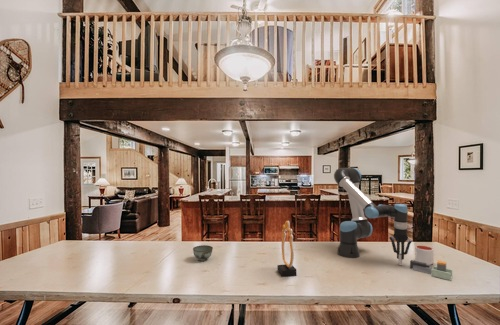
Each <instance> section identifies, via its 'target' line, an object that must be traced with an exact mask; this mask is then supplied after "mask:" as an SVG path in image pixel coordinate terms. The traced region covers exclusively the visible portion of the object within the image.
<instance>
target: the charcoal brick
mask: <svg viewBox="0 0 500 325" xmlns="http://www.w3.org/2000/svg"><path fill="white" fill-rule="evenodd" d="M413 265H417V266H422V267H426V263H423V262H418V261H416V260H413V259H411V260H410V261H409V266H410V268H409V269H412V270H413Z"/></svg>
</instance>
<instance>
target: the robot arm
mask: <svg viewBox="0 0 500 325" xmlns="http://www.w3.org/2000/svg"><path fill="white" fill-rule="evenodd" d="M333 178H334V181H335V183H336V184H337V185H338V186H339V187H341V188H343V190H345V191H346V193H347V197H348V200H349V204H350V206H349V208H350V211H351V214H352V215H351V216H352V218H351V220H345V221H342V222H340V225H339V245H338V248H337V254H338V255H339V256H341V257H343V258H344V257H345V258H350V259H354V258H355V259H356V258H359V257H360V256H361V255H360V249H359V247H358V239H363V238H364V239H365V238H368V237H370V236H371V235H372V234H373V231H374V230H373V225H372V223H371V222H369V220H368V219H377V218H384V217H389V218H393V220H394V221H393V223H394V224H393V235H392V236H390V237H389V240H390V241H391V247H392V250H393V252H394V253H396V258H397V259H398V265H400V266H401V265H402V264H403V260H404V259H405V255H406V256H407V254H408V253H409V250H410V245H411V243H413V240H412V239H410V238H409V236H408V215H409V214H408V212H409V211H408V205H407V204H403V203H395V204H394V205H390V204H389V205H387V204H384V203H383V204H382V203H381V204H380V203H379V204H378V205H376V204H375V203H374V202H373V201H372V200H371V199H370V198H369V197H368V196H367V195H366V194H365V193H364V192H363V191H362V190H360V188H359V185H360V181H361V179H362V173H361V171H360V170H359V169H358V168H355V167H340V168H338V169H336V170H335V171H334V174H333ZM395 241H396V242H395ZM406 242H407V243H406ZM405 243H406V246H405ZM400 249H401V250H400Z"/></svg>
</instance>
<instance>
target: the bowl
mask: <svg viewBox="0 0 500 325" xmlns="http://www.w3.org/2000/svg"><path fill="white" fill-rule="evenodd" d="M213 249H214V248H213V246H212V245H208V244H207V245H205V244H202V245H197V246H194V247H193V248H192V253H193V256H194V257H195V259H197V260H198V261H199V262H206V261H207V260H209V258H210V257H211V256H212V253H213Z"/></svg>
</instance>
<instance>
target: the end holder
mask: <svg viewBox="0 0 500 325" xmlns="http://www.w3.org/2000/svg"><path fill="white" fill-rule="evenodd" d="M432 266H433V269H432V273H431V277H433V278H438V279H442V280H446V281H449V282H450V281H452V279H453V269H451V268H446V272H444V271H439V270H437V265H432Z"/></svg>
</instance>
